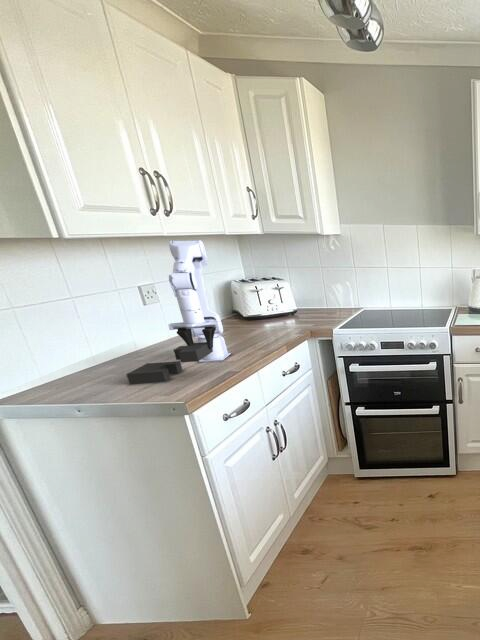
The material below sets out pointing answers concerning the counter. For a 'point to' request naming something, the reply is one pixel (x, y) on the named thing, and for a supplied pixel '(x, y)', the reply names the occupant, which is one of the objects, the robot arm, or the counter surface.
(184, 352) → the tab pad
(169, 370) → the notch pad
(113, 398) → the counter surface
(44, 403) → the counter surface
